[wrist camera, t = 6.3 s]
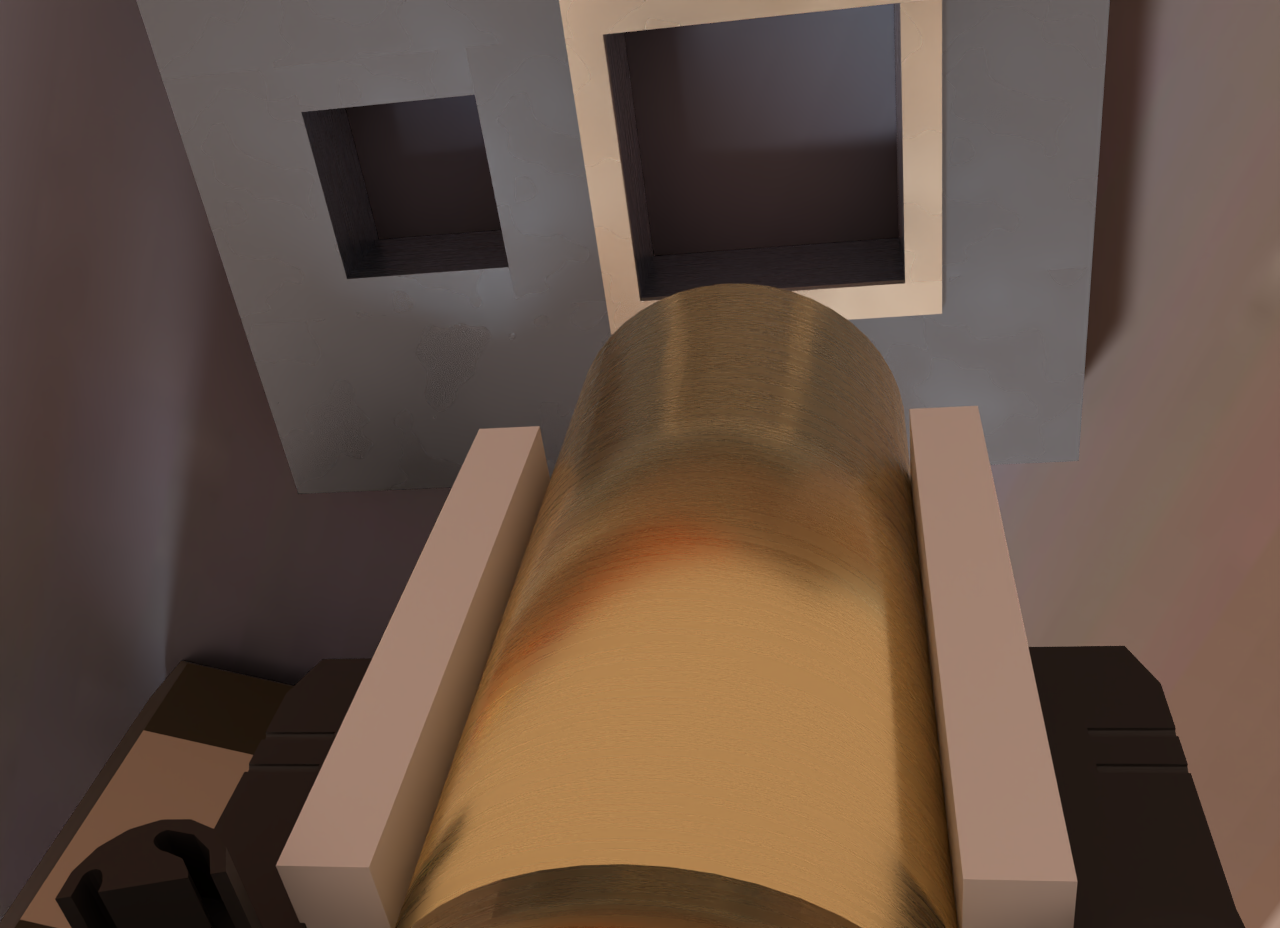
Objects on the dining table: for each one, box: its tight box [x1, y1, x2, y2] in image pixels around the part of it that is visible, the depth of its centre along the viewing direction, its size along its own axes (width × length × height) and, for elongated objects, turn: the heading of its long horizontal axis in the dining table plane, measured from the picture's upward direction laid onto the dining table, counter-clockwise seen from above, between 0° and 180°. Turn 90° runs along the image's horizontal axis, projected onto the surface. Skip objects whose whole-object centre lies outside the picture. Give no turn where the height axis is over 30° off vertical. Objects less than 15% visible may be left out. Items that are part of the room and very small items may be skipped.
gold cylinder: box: [395, 284, 958, 928], centre depth 12 cm, size 4×4×10 cm
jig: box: [136, 0, 1110, 494], centre depth 27 cm, size 20×16×6 cm
